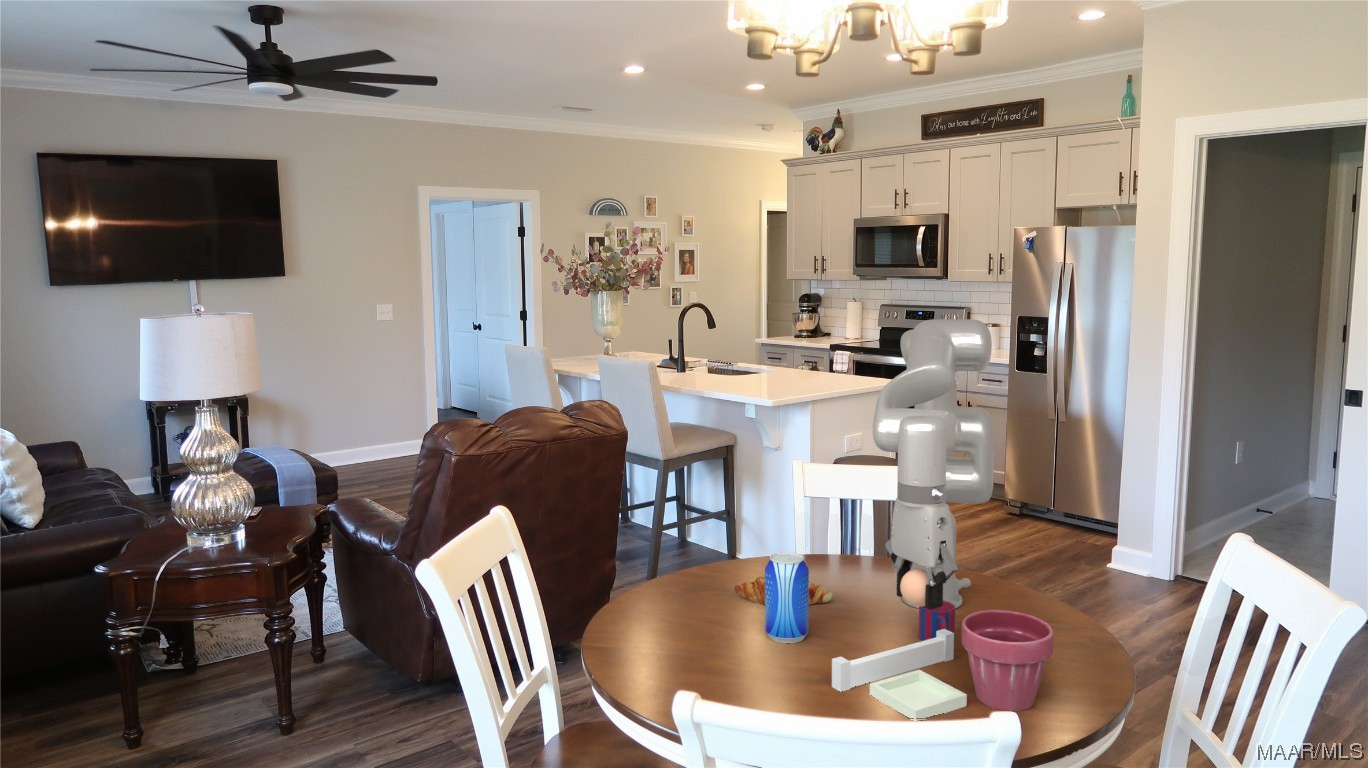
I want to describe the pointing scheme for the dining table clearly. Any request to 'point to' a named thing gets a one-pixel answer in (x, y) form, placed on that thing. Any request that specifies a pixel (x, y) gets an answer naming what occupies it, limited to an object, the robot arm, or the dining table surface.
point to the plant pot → (1006, 656)
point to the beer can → (786, 597)
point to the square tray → (918, 695)
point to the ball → (914, 586)
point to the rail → (892, 661)
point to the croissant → (757, 592)
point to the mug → (936, 620)
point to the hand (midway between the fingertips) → (919, 600)
